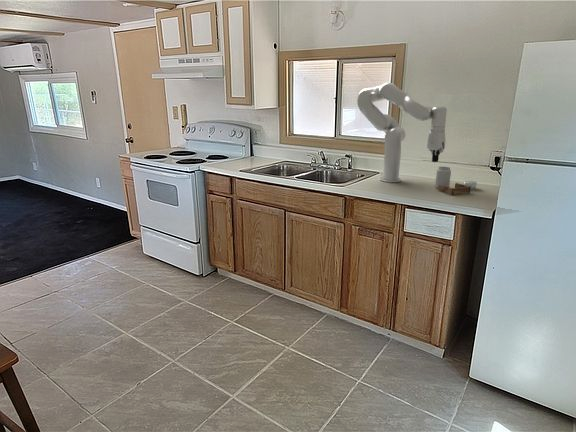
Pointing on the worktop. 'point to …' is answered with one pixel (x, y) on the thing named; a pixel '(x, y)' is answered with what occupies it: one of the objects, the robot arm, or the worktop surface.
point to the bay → (455, 189)
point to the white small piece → (470, 184)
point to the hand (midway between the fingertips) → (434, 161)
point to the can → (443, 176)
